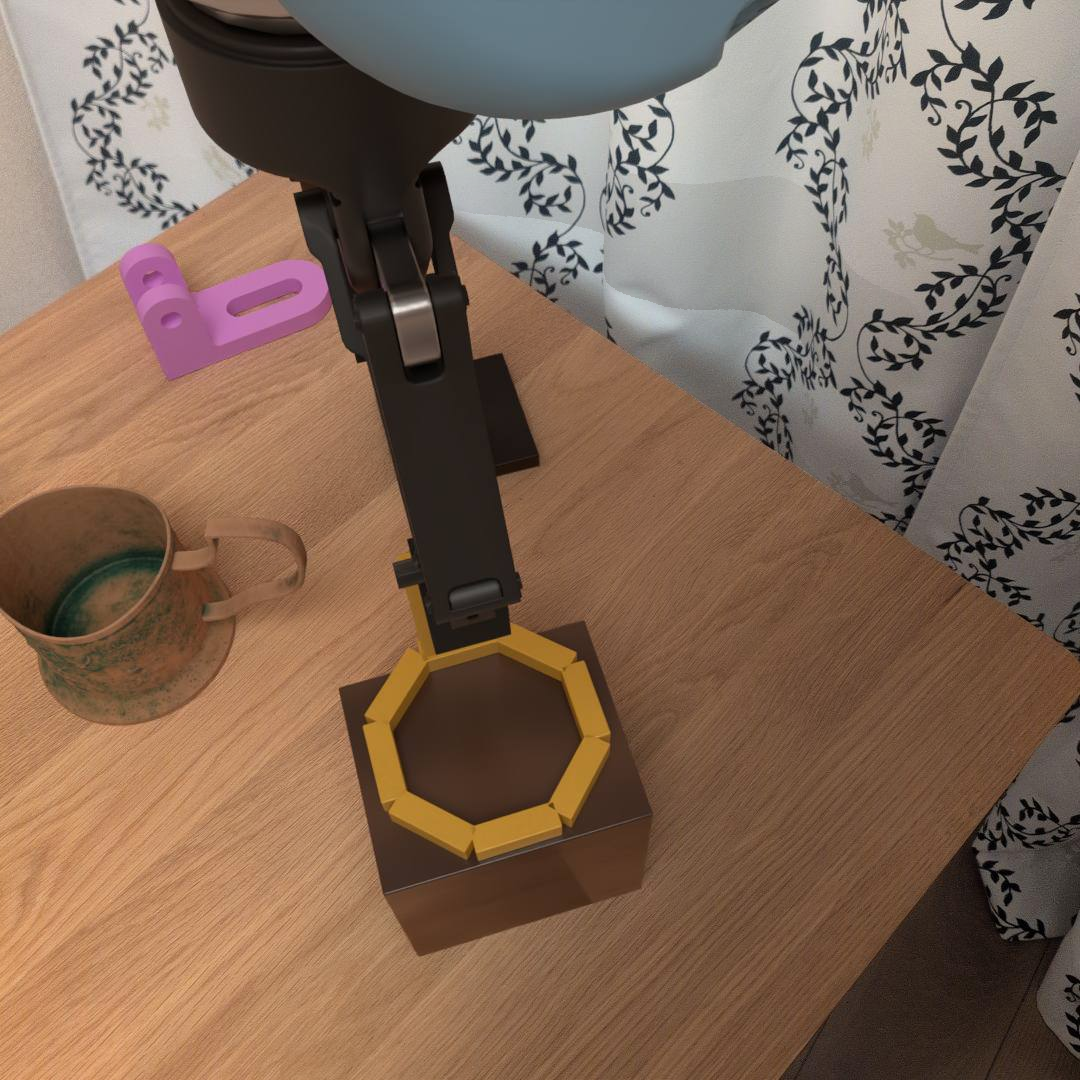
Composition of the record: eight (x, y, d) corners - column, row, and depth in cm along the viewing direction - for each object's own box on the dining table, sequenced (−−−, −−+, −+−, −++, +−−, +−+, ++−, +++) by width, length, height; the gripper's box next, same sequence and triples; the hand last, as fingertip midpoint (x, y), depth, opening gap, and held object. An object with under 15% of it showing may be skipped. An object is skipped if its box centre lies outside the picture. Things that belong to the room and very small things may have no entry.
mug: (325, 723, 65) (278, 626, 55) (19, 726, 66) (-84, 631, 56) (343, 549, 71) (304, 433, 61) (63, 554, 72) (-23, 439, 62)
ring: (635, 812, 50) (645, 730, 42) (402, 885, 49) (368, 815, 41) (562, 610, 55) (559, 505, 47) (350, 671, 54) (311, 573, 46)
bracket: (168, 381, 79) (134, 310, 73) (145, 327, 82) (110, 255, 76) (343, 313, 82) (324, 240, 76) (315, 263, 84) (295, 189, 79)
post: (540, 465, 74) (532, 326, 63) (404, 500, 73) (371, 365, 62) (503, 363, 79) (490, 216, 68) (375, 395, 78) (340, 251, 67)
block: (641, 888, 60) (653, 814, 50) (418, 957, 59) (383, 895, 48) (584, 717, 65) (584, 619, 55) (377, 777, 64) (337, 687, 53)
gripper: (668, 300, 19) (625, 754, 38) (366, -336, 32) (443, 233, 50) (227, 407, 19) (401, 819, 37) (95, -291, 31) (274, 272, 49)
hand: (426, 481), depth 43 cm, fingers open, 13 cm apart
